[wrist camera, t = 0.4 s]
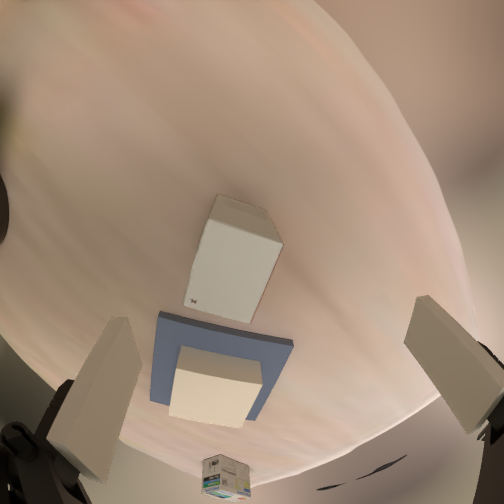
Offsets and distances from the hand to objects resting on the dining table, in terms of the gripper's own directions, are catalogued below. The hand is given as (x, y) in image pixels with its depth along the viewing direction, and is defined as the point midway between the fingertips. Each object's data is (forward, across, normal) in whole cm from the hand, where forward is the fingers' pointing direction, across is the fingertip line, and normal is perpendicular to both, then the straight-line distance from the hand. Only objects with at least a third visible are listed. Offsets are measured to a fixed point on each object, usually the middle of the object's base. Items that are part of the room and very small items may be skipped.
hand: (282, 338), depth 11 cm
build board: (+24, -7, -26) cm, 36 cm away
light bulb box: (+24, -8, -62) cm, 67 cm away
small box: (+24, -2, -2) cm, 24 cm away
